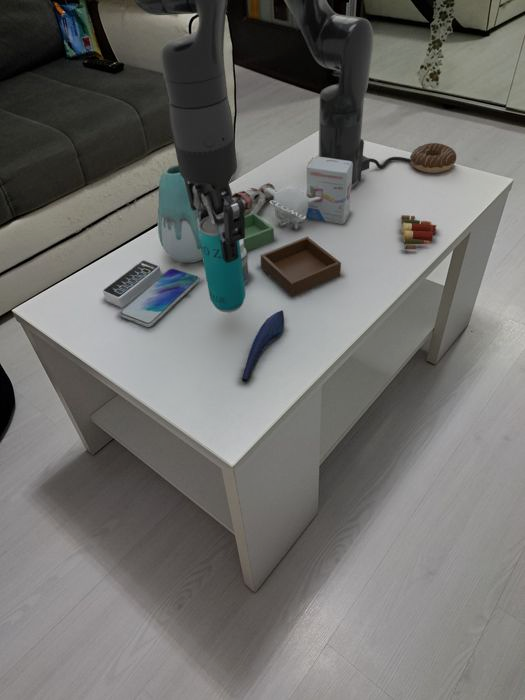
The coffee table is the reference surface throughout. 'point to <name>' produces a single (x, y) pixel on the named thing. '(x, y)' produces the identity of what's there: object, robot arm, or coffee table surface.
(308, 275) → the can tray
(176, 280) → the smartphone
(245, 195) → the figurine
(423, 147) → the donut
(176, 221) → the vase
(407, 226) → the ammunition
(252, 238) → the pill tray
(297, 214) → the figurine
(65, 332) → the coffee table surface
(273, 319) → the tapered navy handle
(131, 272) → the multiport hub
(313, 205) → the ink box
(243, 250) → the pill bottle
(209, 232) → the beverage can
